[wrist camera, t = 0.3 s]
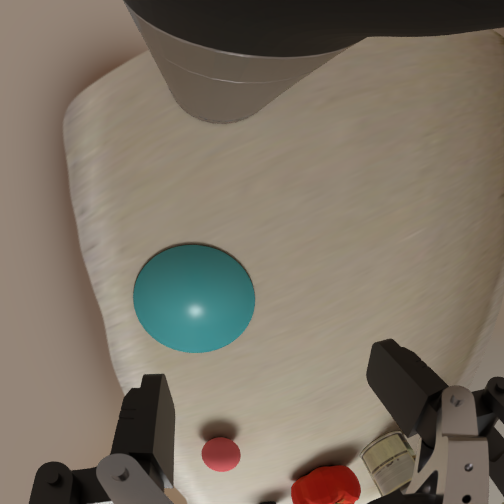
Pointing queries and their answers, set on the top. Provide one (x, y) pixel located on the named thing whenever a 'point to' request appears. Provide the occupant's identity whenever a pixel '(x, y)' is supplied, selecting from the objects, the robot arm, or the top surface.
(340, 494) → the tomato
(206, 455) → the ball
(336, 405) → the top surface
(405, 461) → the coffee can
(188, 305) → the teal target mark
